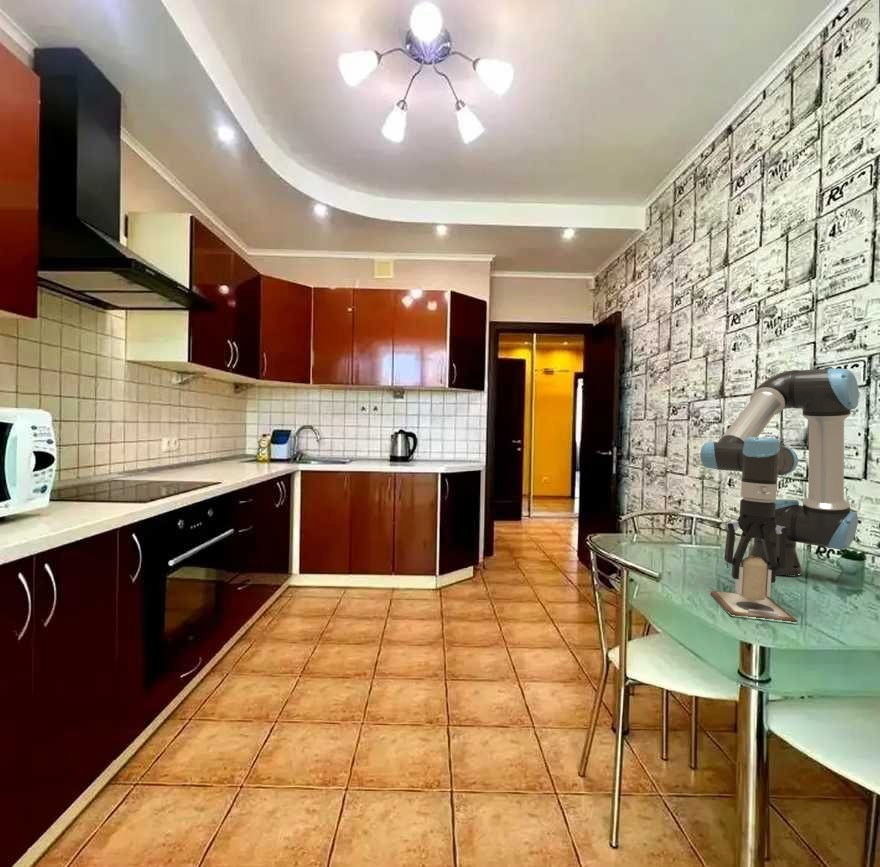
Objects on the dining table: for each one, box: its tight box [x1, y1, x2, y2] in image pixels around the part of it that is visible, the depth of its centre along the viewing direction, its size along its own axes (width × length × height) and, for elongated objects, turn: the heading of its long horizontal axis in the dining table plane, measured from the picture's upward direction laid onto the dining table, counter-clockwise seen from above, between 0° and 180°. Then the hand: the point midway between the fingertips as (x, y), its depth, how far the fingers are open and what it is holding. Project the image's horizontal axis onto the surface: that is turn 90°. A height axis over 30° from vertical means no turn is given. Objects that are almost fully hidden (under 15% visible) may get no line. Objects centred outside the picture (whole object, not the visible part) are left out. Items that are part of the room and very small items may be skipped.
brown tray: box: [709, 590, 798, 623], centre depth 135 cm, size 14×18×2 cm
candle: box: [740, 554, 767, 600], centre depth 133 cm, size 6×6×10 cm
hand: (752, 593), depth 133 cm, fingers closed on candle, 5 cm apart
